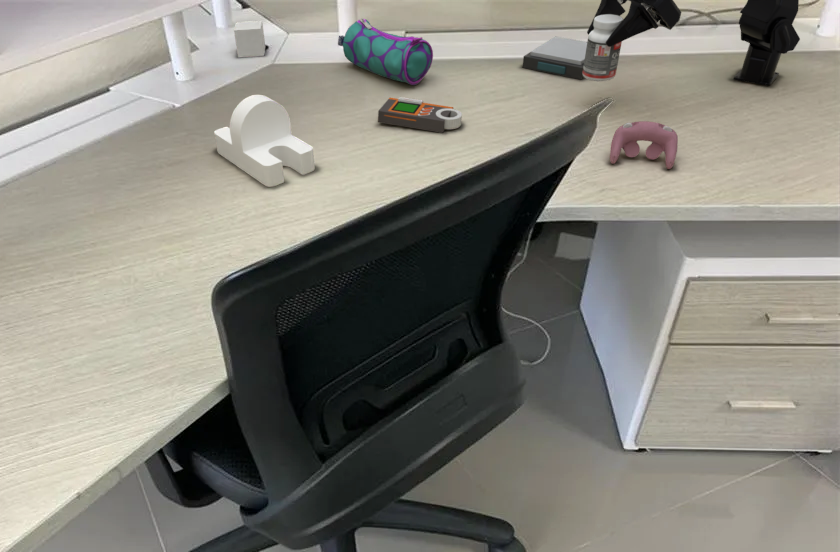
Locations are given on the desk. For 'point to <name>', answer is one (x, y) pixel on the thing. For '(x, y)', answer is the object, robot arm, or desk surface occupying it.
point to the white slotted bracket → (263, 141)
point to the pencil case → (387, 52)
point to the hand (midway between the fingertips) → (597, 39)
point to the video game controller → (645, 131)
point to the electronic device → (419, 115)
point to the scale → (558, 57)
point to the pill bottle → (602, 49)
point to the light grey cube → (249, 38)
